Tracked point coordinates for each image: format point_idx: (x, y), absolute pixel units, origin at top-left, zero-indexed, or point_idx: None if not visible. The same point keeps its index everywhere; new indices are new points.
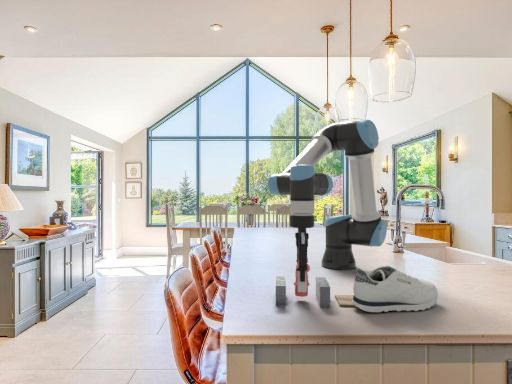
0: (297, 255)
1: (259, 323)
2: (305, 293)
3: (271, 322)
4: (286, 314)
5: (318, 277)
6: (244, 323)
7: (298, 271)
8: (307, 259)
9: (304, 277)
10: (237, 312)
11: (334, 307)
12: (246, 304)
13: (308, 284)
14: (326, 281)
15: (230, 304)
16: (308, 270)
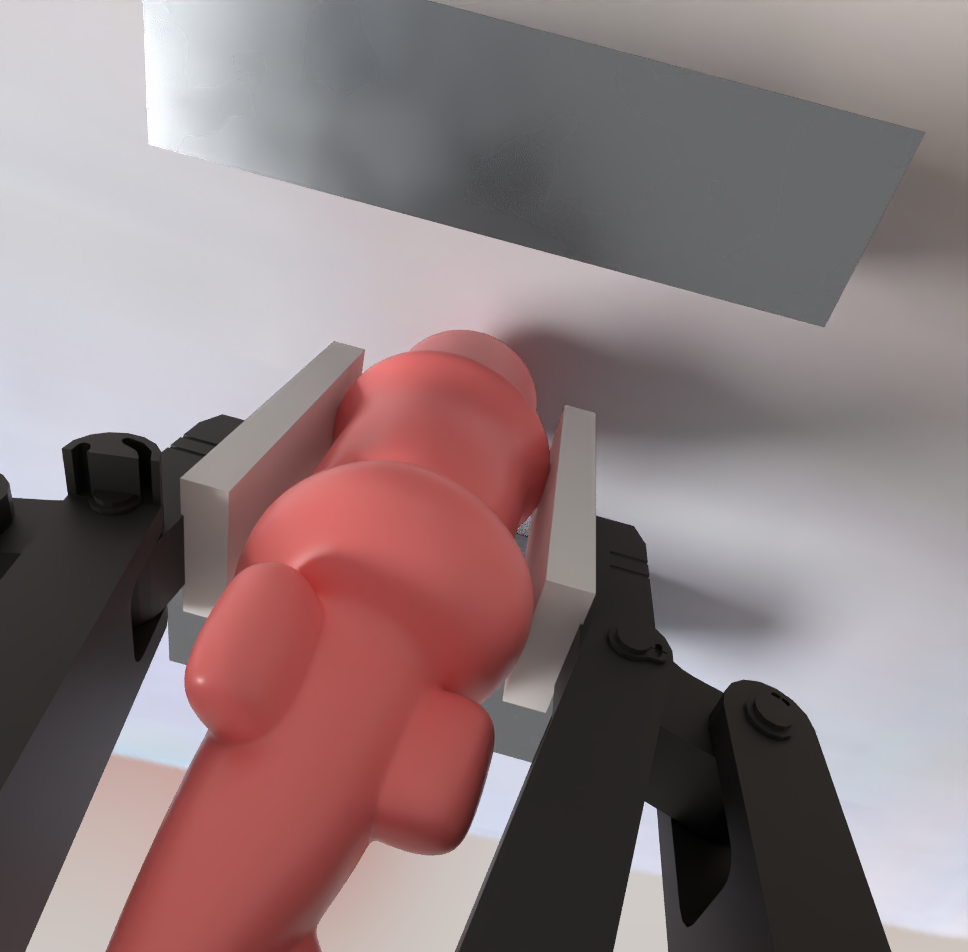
0: (77, 822)
1: (924, 802)
2: (530, 391)
3: (947, 746)
4: (827, 617)
5: (166, 96)
6: (878, 858)
7: (547, 691)
8: (269, 631)
9: (645, 578)
10: (658, 839)
11: (828, 55)
12: (504, 766)
13: (504, 391)
14: (488, 38)
15: (487, 831)
16: (499, 519)
